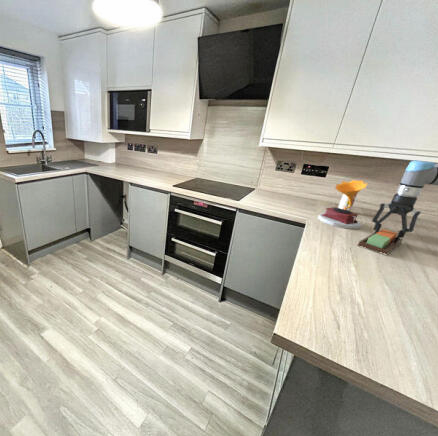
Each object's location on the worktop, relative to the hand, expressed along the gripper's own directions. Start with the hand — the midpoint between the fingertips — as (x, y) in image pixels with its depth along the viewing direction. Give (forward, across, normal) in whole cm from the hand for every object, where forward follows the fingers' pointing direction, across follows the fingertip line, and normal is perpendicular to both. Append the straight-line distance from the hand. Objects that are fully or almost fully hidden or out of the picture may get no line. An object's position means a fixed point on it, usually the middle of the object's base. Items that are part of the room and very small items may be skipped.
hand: (384, 239), depth 117 cm
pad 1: (+1, 0, -12) cm, 12 cm away
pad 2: (+1, 0, 0) cm, 1 cm away
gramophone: (+1, -23, +10) cm, 25 cm away
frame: (+1, 0, -6) cm, 6 cm away
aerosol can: (+1, -30, +38) cm, 49 cm away
